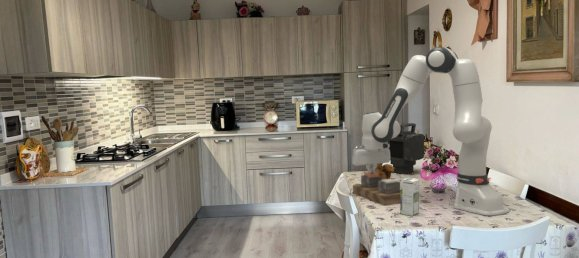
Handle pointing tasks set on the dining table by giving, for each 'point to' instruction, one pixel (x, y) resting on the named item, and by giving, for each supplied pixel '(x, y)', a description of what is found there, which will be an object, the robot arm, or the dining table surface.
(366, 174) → the reddish orange cube
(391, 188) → the button board
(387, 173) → the stuffed squirrel
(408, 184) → the syrup box
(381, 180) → the white cube
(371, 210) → the dining table surface
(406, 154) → the black device with handle
